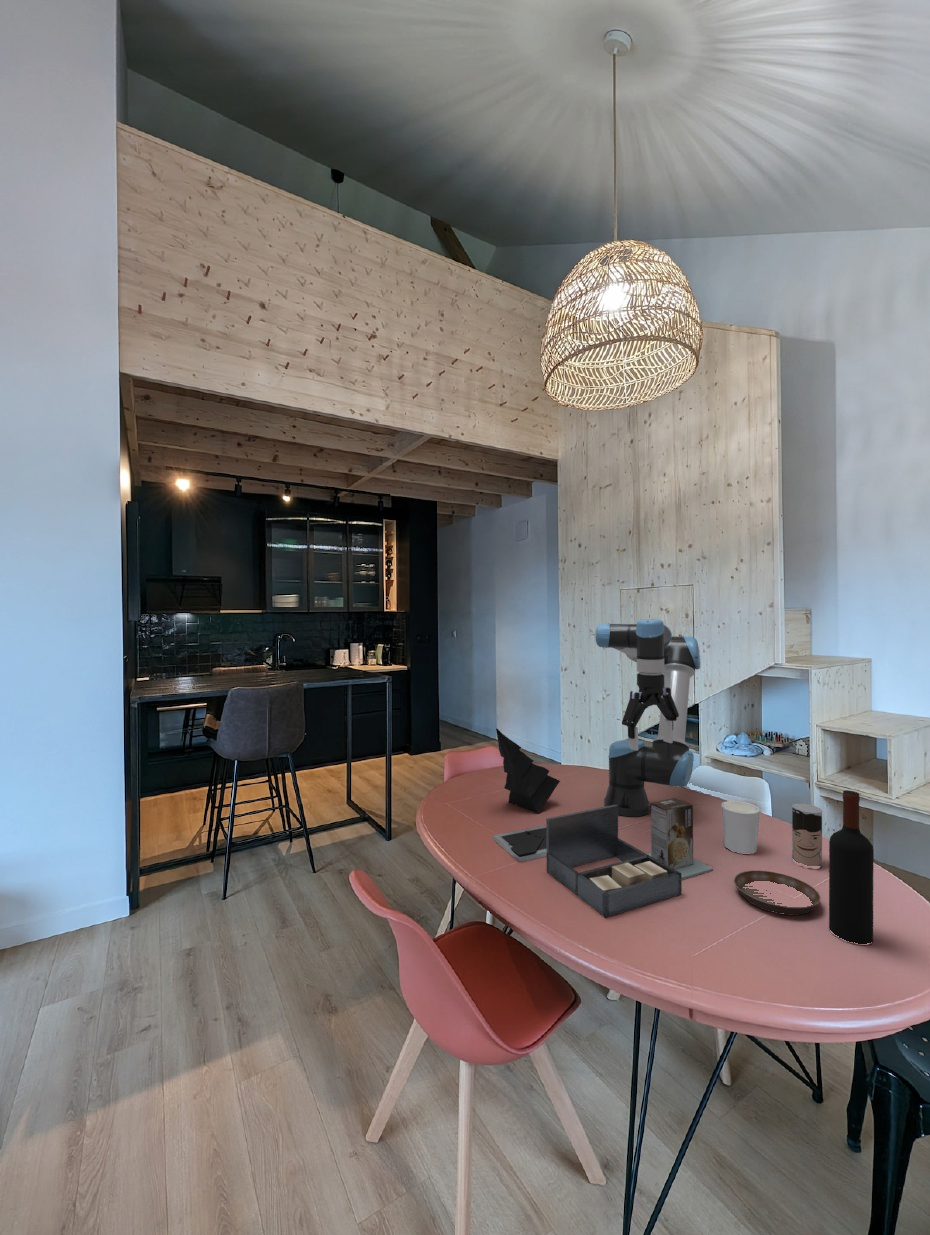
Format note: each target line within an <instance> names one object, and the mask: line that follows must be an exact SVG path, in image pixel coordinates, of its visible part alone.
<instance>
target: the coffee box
mask: <svg viewBox="0 0 930 1235" xmlns="http://www.w3.org/2000/svg"><path fill="white" fill-rule="evenodd" d="M693 806H694V805H693V803H689V802H687V801H684V800H682V799H679V798H676V797H672V798H668V799H662V800H658V801H653V802H650V838H651V840H650V843H651V845H650V849H651V850H650V853H651V857H653V858H655V859H657V860H658V861H660V862H662V863H664V864H665V865H667V866H669V867H671V868H673V869H676V868H680V867H683V866H687V865H690V864H693V858H694V817H693V816H694V813H693V812H694V810H693V809H694V808H693Z"/></svg>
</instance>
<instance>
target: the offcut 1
mask: <svg viewBox="0 0 930 1235" xmlns="http://www.w3.org/2000/svg"><path fill="white" fill-rule="evenodd" d="M589 880H590V881H591V882H592V883H594V884H595V885H597V886H598V887H599V888H601V889H602V890H603V891H605V892H609V891H612V890H616V889H619V888H622V887H621V886H619V885H618V884H617V883H616V882H615V881H614V880H613V879H612V878H610V877H609V876H608V875H606V876H600V877H594V878H589Z"/></svg>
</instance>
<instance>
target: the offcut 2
mask: <svg viewBox="0 0 930 1235" xmlns="http://www.w3.org/2000/svg"><path fill="white" fill-rule="evenodd" d="M634 867H636V868H638V869H639V870H641V871H642V872H644V873H645V881H647V880H651V879H655V878H658V877H662V876H665V875H667V871H666V870H664V869H662V868H661V867H659V866H657V865H655V864H654V863H652V862H650V861H647V862H644V863H640V864H636V865H634Z"/></svg>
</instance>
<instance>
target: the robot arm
mask: <svg viewBox="0 0 930 1235" xmlns="http://www.w3.org/2000/svg"><path fill="white" fill-rule="evenodd" d="M595 643H596V645H597V646H598V647H599V648H605V649H608V648H610V649H611V648H612V649H614V650H616V651H618V652H620V653H623V654H624V655H625V656H626V657H627V658H628V659H629V660H631V661H633V662H635V663H636V671H637V672H638V673H637V674H636V685H637V687H638V691H637V692H636V691H633V690H632V691H630V693H629V700H628V703H627V707H626V708H625V712H624V715H623V718H622V720H621V725H624V726H625V727H627V737H628V739H624V740H617V741H614V742H612V743H611V744H610V745H609V749H608V751H609V752H608V756H607V757H608V787H607V791H606V794H605V797H604V800H603V807H606V806H611V805H618V816H622V817H631V818H632V817H635V818H636V817H642V816H643V817H644V816H647V815H648V814H649V813H651V803H650V802H649V799H648V795H647V792H646V789H645V788H646V787H645V783H650V784H657V785H658V784H659V785H664V786H670V787H678V788H682V787H683V788H684V787H686V786H688V784H689V783H690V780H691V778H692V774H693V768H694V761H695V760H694V759H695V757H694V753H693V752H692V751H691V750H690V746H689V744H687V742H686V732H687V730H686V729H687V718H688V705H689V694H690V691H689V690H690V684H691V683H690V680H691V678H692V677H693V676H695V675H696V670H700V669H701V658H700V657H701V655H700V648H699V642H698V640H697V639H696V637H693V636H685V635H683V636H675V635H672V631H671V629H670V627H669V626H668V625H666V624H665V623H664V621H663V620H662V619H657V618H655V619H654V618H653V619H648V618H647V619H645V618H644V619H639V620H637V622H636V623H629V624H628V623H626V624H625V623H600V624H598V625H597V626H596V629H595ZM652 706H656V707H657V708H658V709H659V712H660V714H659V723H658V724H659V725H658V730H657V731H658V734H657V737H655V739H653V740H652V745H651V746H646V744H645V742H644V741H643V740H641V739H639V727H638V726H637V725H638V723H639V721H640V720H641V718H642V715H643V714H644V712H645V710H647V709H648V708H649V707H652Z"/></svg>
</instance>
